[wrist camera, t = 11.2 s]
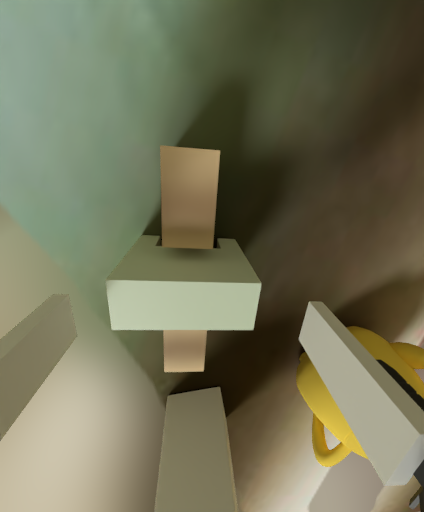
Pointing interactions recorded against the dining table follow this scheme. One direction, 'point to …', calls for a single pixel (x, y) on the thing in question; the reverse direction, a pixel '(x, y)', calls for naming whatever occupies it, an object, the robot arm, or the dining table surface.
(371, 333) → the teapot
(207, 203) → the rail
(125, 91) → the dining table surface
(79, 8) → the dining table surface
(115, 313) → the block
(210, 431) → the milk carton
